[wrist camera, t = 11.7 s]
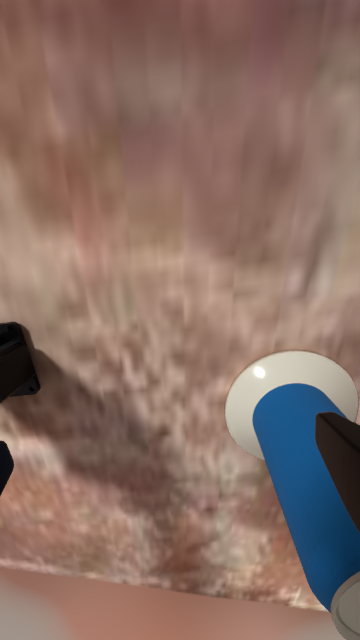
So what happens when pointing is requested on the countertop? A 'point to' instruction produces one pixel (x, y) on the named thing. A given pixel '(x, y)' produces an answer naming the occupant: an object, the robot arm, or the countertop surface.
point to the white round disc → (280, 372)
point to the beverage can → (311, 499)
